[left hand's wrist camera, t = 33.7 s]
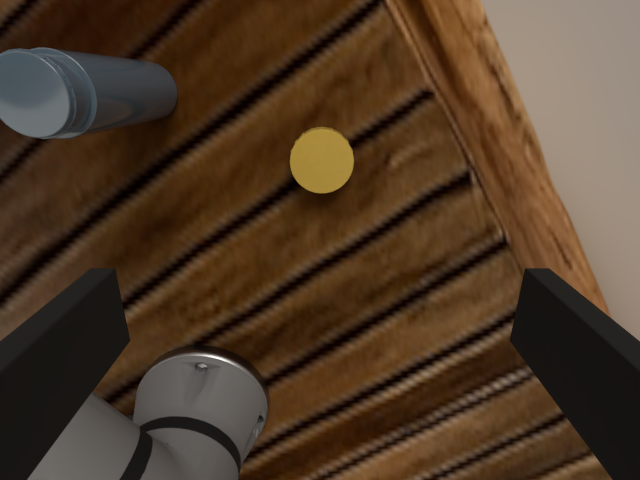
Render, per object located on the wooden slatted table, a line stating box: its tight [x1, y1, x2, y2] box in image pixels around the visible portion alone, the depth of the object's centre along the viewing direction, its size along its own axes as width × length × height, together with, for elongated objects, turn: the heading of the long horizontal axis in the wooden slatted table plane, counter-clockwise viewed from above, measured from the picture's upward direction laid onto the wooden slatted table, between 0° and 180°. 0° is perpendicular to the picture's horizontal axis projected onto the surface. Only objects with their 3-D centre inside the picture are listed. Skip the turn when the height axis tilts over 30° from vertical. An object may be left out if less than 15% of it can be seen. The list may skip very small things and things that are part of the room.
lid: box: [289, 126, 354, 193], centre depth 36 cm, size 6×6×2 cm
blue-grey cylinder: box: [0, 48, 177, 139], centre depth 28 cm, size 5×5×16 cm
